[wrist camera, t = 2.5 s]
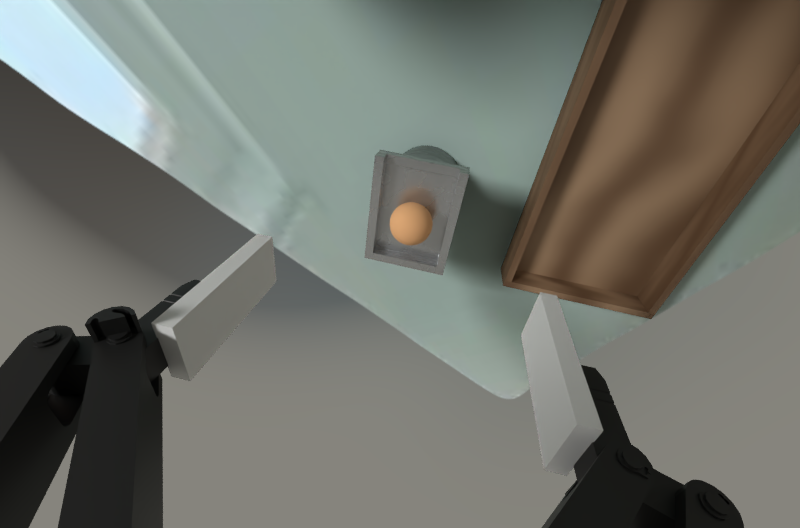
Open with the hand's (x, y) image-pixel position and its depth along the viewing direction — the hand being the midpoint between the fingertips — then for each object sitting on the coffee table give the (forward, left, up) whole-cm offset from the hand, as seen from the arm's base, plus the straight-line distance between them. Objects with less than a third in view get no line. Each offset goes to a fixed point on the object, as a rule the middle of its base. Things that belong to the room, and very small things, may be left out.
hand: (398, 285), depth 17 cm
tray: (+15, +5, -17) cm, 23 cm away
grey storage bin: (-1, 0, -17) cm, 17 cm away
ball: (-1, 0, -9) cm, 9 cm away
